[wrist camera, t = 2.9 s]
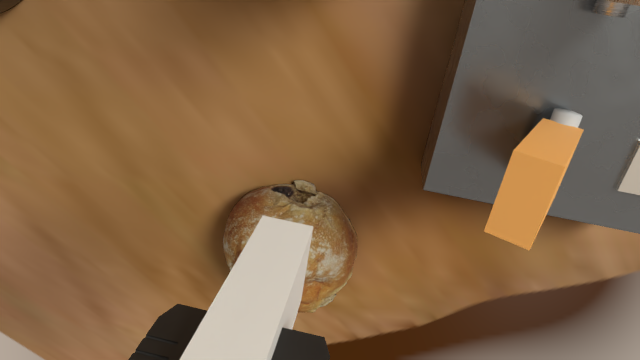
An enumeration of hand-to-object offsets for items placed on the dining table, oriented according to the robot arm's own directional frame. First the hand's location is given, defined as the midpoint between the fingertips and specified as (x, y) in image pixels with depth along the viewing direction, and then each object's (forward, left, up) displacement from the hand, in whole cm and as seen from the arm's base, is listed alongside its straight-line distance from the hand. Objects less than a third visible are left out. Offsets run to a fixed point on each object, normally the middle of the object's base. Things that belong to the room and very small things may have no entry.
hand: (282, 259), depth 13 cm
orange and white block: (+12, 0, -14) cm, 18 cm away
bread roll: (-2, -12, -19) cm, 23 cm away
